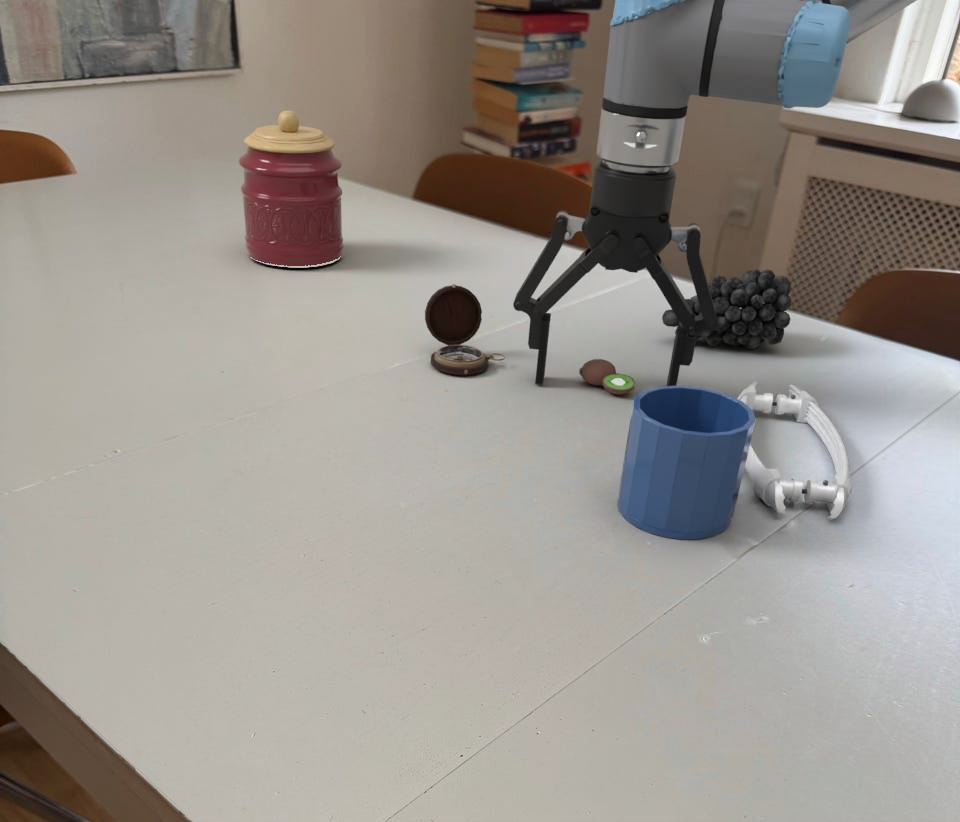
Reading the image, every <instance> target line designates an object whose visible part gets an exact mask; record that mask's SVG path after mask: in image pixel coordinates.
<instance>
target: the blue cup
mask: <svg viewBox="0 0 960 822" xmlns="http://www.w3.org/2000/svg"><path fill="white" fill-rule="evenodd" d="M632 400H633V401H632V407H631V412H630V413H631V414H630V419H629V426H628V432H627V439H626V444H625V445H626V446H625V452H624V458H623V463H622V464H623V465H622V470H621V476H620V477H621V478H620V484H619V489H618V500H617V508H618V511H619V513H620V515H621V516H622V518H624V519H625V520H626V521H627V522H628V523H630V524H631V525H633V527H636V528H638V529H640V530H642V531H644V532H647V533H650V534H653V535H654V536H655V535H656V536H659V537H663V538H669V539H674V540H701V539H708V538H711V537H715V536H717V535H719V534H721V533H723V532H725V531H726V530H727V529H728V528H729V526H730V525H731V522H732V518H733V517H734V515H735V510H736V506H737V501H738V498H739V493H740V490H741V485H742V482H743V481H742V480H743V477H744V472H745V469H744V468H745V464H746V460H747V455H748V451H749V447H750V444H751V443H752V438H753V432H754V429H755V425H756V416H755V410H752V409H751V408H749V407H748V406H747V405H746V404H745V403H744V402H742V401H740V400H738V398H736V397H734V396H731V395H729V394H727V393H726V392H721V391H717V390H713V389H710V388H706V387H700V386H689V385H676V386H667V385H663V386H662V385H661V386H656V387H652V388H649V389H645V390H642V391H641V392H640V393H639V394H637V395H636V396H634V398H633V399H632Z"/></svg>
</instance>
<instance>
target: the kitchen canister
mask: <svg viewBox="0 0 960 822" xmlns="http://www.w3.org/2000/svg"><path fill="white" fill-rule="evenodd" d="M243 142H244V145H246V147H247V151H246V152H245V153H244V154H242V155H241V156H240V157H239V159H238V164H239V165H240V167H241V168H242V169H243V184H242V185H241V187H240V191H241V193H242V200H243V211H244V212H243V213H244V227H245V235H244V240H245V248H246V250H247V255H248V254H249V256H250V257H252V258H253V259H255V260H258V261H261V262H264V263H269V264H270V263H271V264H275V265H276V264H277V265H284V266H286V265H287V266H305V265H306V266H308V265H310V266H311V265H317V264H322V263H326V262H330V261H333V260H335V259H338V258H339V257H340V256H341V255H343V250H344V236H343V228H342V227H343V225H342V223H343V222H342V196H343V189H342V188H341V187H340V186H339V176H338V172H339V170H340V169H341V168H342V166H343V164H342V161H341V160H340V159H339V158H338V157H337V156H335V155H334V154H333V151H332V149H333V148H334V147H335V141H334V140H333V139H331V138H330V137H328V136H327V135H326V134H325V133H324V132H323V130H321V129H318V128H315V127H312V126H311V127H310V126H305V125H300V119H299V117H298V115H297V113H296V112H294V111H293V110H289V109H288V110H282V111H281V112H280V113H279V114H278V118H277V124H274V125H264V126H259V127H257V128H255V129H254V130H253V132H252V133H250V134H249V135H248V136H246V137H244V139H243ZM249 256H248V257H249ZM250 257H249V258H250Z"/></svg>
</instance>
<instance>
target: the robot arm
mask: <svg viewBox="0 0 960 822" xmlns="http://www.w3.org/2000/svg"><path fill="white" fill-rule="evenodd" d="M917 1H918V0H615V1H614V8H613V13H612V15H613V16H612V18H611V19H610V23H609V26H610V29H609V30H610V31H609V39H608V50H607V58H606V68H605V78H604V87H603V95H602V96H603V98H602V102H601V103H602V104H601V109H600V117H599V118H600V119H599V126H598V134H597V146H596V151H595V152H596V153H595V154H596V155H597V157H598V158H599V159H600V161H598V162H597V163H596V165H594V167H593V176H592V183H591V192H590V201H589V209H588V212H587V214H586V216H585V217H579V216H575V215H571V214H569V213H568V211H566V210H564V209H563V210H562V209H561V210H559V211H558V212H557V213H556V216H555V219H554V223H553V229H552V233H551V236H550V237H549V239H548V240H547V243H546V244H545V246H544V247H543V249H542V251H541V253H540V254H539V256H538V257H537V259H536V261H535V262H534V264H533V265H532V267H531V269H530V271H529V272H528V274H527V276H526V278H525V279H524V281H523V283H522V285H521V286H520V288H519V289H518V291H517V293H516V294H515V297H514V301H513V309H514V310H515V311H517V312H523V313H525V314H526V315H528V317H529V329H528V341H527V345H528V348H529V349H530V350H537V362H536V372H535V382H534V385H544V384H543V383H544V380H545V379H544V378H545V374H546V364H547V355H548V345H549V336H550V326H551V316H552V313H551V312H549V311H550V310H551V309H552V307H554V306H555V305H556V304H557V303H558V302H559V301H560V300H561V299H562V298H563V297H565V295H566V294H567V293H568V292H569V291H570V290H571V289H572V288H573V287H574V286H575V285H576V284H577V283H578V282H579V281H580V280H581V279H582V278H583V277H584V276H586V274H588V273H590V272H591V271H592V270H593V269H594V268H595V267H596V266H597V265H600V266H601V267H602V268H604V270H607V271H617V270H623V271H625V272H628V273H637V274H638V272H640V271H642V270H645V269H646V270H647V272H648V273H649V275H650V277H651V278H652V279H653V281H654V282H655V284H656V285H657V287H658V288H659V290H660V292H661V293H662V296H663V297H664V298H665V300H666V302H667V303H668V305H669V306H670V309H672V310H673V311H674V313H675V315H676V316H677V318H678V320H679V321H680V323H681V325H682V326H683V327H678V326H677V327H676V329H677V330H676V329H675V331H676V334H675V336H674V341H673V347H672V352H671V358H670V365H669V370H668V374H667V381H666V386H678V385H677V384H678V379H679V373H680V369H681V366H688V367H690V365H691V364H692V362H693V358H694V353H695V348H696V344H697V343H696V342H697V341H696V338H697V336H698V335H699V333H701V332H704V331H708V330H709V331H714V330H716V329H717V328H718V319H717V314H716V311H715V307H714V304H713V300H712V296H711V293H710V289H709V286H708V284H709V282H708V279H707V275H706V272H705V268H704V264H703V261H702V257H701V253H700V247H701V229H700V226H699V224H697V223H696V222H692V223H690V224H688V225H687V226H671V221H670V216H671V211H672V210H671V209H672V204H673V198H674V191H675V185H676V179H677V173H676V171H675V169H674V168H672V167H673V166H675V165H677V164H678V163H679V161H680V157H681V156H680V155H681V150H682V144H683V138H684V132H685V125H686V118H687V113H688V104H689V100H690V97H691V96H699V97H704V98H708V97H711V98H719V99H727V100H735V101H743V102H749V103H750V102H751V103H758V104H766V105H775V106H782V107H783V108H785V109H789V110H790V109H793V108H811V109H813V108H815V109H818V108H819V109H820V108H823V107H825V106H827V105H828V104H829V103H830V102H831V100H832V98H833V96H834V93H835V92H836V88H837V87H836V86H837V83H838V80H839V77H840V72H841V70H842V69H841V68H842V65H843V60H844V56H845V52H846V48H847V44H849V43H850V42H852V41H854V40H855V39H857V38H859V37H860V36H862V35H864V34H865V33H867V32H869V31H870V30H872V29H873V28H875V27H877V26H878V25H879V24H881V23H883V22H885V21H886V20H888V19H889V18H891V17H893V16H894V15H896V14H897V13H899V12H901V11H902V10H904V9H906V8H908V7H909V6H910V5H912V4H913V3H915V2H917ZM578 232H581V233H582V235H583V238H584V239H585V241H586V243H587V245H588V247H586V249H584V250H583V251H582V252H581V254H580V255H579V257H578V258H577V259H576V260H575V261H574V262H573V263H571V264H570V266H569V267H568V268H567V269H566V270H565V271H564V272H563V273H562V274H561V275H560V276H559V277H558V278H557V279H555V280H554V281H553V282H552V283H551V285H549V287H547V288H546V289H545V291H543V292H542V294H540V295H539V296H538V297H537V298H536V299H535V298H534V297H533V295H534V294H535V291H536V290H537V289H538V287H539V285H540V284H541V282H542V281H543V278H544V277H545V275H546V274H547V272H548V270H549V269H550V267H551V265H552V264H553V262H554V261H555V258H556V257H557V255H558V254H559V252H560V251H561V248H562V246H563V243H564V242H565V241H571V240H572V239H573V238H574V236H575V234H576V233H578ZM672 241H673V242H675V243H676V245H677V249H678V250H679V251H680V252H682V253H685V256H686V262H687V265H688V269H689V270H688V271H689V273H690V277H691V280H692V283H693V287H694V290H695V294H696V295H697V298H698V301H699V305H700V308H701V312H702V315H699V316H695V315H694V313H693V312H692V310H691V308H690V307H689V305H688V303H687V302H686V300H685V299H686V298H685V297H684V294H683V293H682V292H681V290H680V287H678V284H677V283H676V281H675V279H674V278H673V276H672V275H671V273H670V271H669V270H668V268H667V266H666V264H665V262H664V260H663V258H662V257H661V255H660V253H662V251H663V250H664V249H665V248H666V247H667V246H668V245H669V243H670V242H672Z"/></svg>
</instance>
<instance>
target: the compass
mask: <svg viewBox="0 0 960 822" xmlns="http://www.w3.org/2000/svg"><path fill="white" fill-rule="evenodd" d="M482 313H483V310H482V306H481V303H480V301H479V299H478V298H477V296H476V295H475V294H474V293H473V292H472V291H471V290H469V289H468V288H466V287H464V286H462V285H456V284H453V283H452V284H451V285H446V286H443V287H440V288H439V289H437V290H436V291H435V292H434V293H433V294H431V296H430V298H429V299H428V302H427V303H426V306H425V310H424V321H425V325H426V328H427V330H428V331H429V333H430V335H431V336H432V337H433V338H434V339H436V340H437V341H438V342H439V343H442V344H443V345H445V346H442V347H440V348H438V349H437V350H436V351H434V352H433V353H431V355H430V364H431V366H433V368H434V369H436V370H437V371H439V372H442V373H445V374H449V375H453V376H469V375H470V376H471V375H472V376H473V375H477V374H480V373H482V372H484V371H486V370H487V368H489V361H491V360H492V361H504V360H505V359H506V356H505V355H504V354H502V353H497V352H496V353H495V352H494V353H493V352H492V353H489V354H485V353H484V352H483V351H481V350H480V349H479V348H477V347H474V346H471V345H466V344H465V343H467V342H468V341H470V340H471V339H472V338H473V337H474V336H475V335H476V334H477V333H478V331H479V329H480V327H481V323H482V321H483V318H482ZM494 356H502V357H503V358H494Z"/></svg>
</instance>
